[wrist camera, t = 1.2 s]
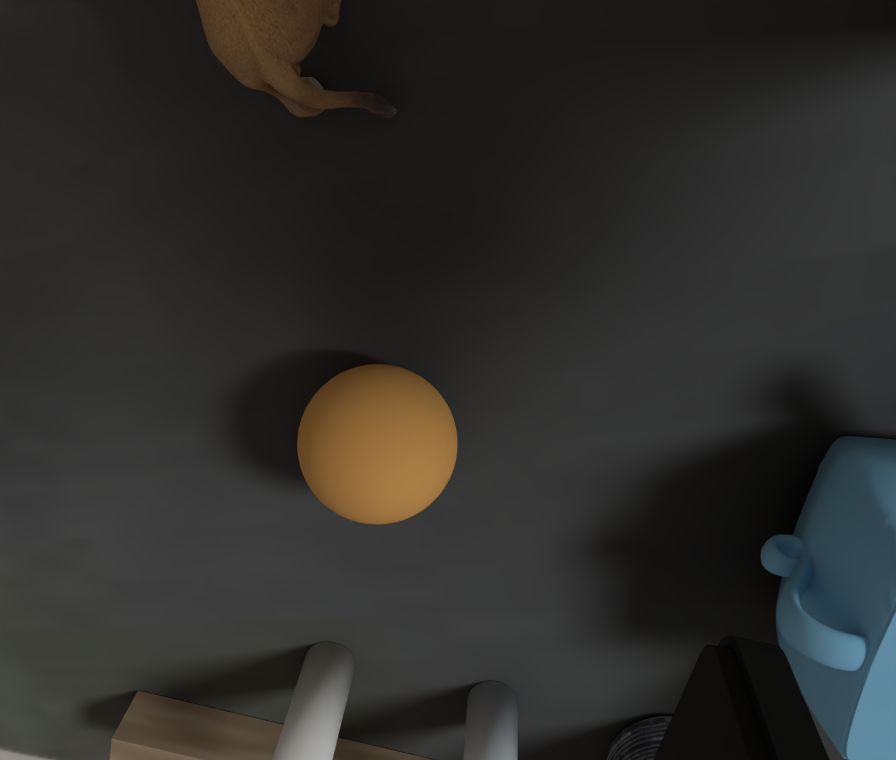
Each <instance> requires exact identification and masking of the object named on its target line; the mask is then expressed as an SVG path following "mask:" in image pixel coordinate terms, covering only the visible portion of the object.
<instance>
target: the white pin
mask: <svg viewBox="0 0 896 760" xmlns="http://www.w3.org/2000/svg"><path fill="white" fill-rule="evenodd" d="M354 669H355V659H354V657H353V655H352V653H351V652H350V651H349V650H348V649H347V648H345V647H344V646H342V645H340V644H337V643H333V642H322V643H318V644H315V645H314V646H312V647H311V648H310V649H309V650H308V652H307V654H306V657H305V660H304V663H303V666H302V669H301V672H300V676H299V679H298V682H297V685H296V688H295V691H294V694H293V697H292V700H291V704H290V707H289V710H288V713H287V716H286V719H285V722H284V725H283V728H282V731H281V735H280V738H279V741H278V744H277V747H276V750H275V753H274V756H273V759H272V760H332V759H333V755H334V751H335V747H336V743H337V738H338V734H339V730H340V726H341V722H342V718H343V714H344V710H345V706H346V702H347V697H348V693H349V689H350V685H351V681H352V677H353V673H354Z"/></svg>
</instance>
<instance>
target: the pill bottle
mask: <svg viewBox="0 0 896 760" xmlns="http://www.w3.org/2000/svg"><path fill="white" fill-rule="evenodd" d="M671 719H672V716H661V717H654V718H649V719H645V720H642V721H639V722H637V723H635V724H633V725H631V726H629V727H627V728H626V729H624V730H623V731H622V732H621V733H620V734H619V735H618V736H617V737H616V738H615V739H614V740H613V742H612V743H611V745H610V747H609V749H608V752H607V756H606V760H653V759H654V757H655V754H656V752H657V750H658V748H659V745H660V743H661V741H662V739H663V736H664V734H665V732H666V730H667V727H668V725H669V723H670V721H671Z"/></svg>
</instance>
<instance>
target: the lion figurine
mask: <svg viewBox="0 0 896 760" xmlns="http://www.w3.org/2000/svg"><path fill="white" fill-rule="evenodd" d="M196 3H197V6H198V9H199V13H200V17H201V20H202V24H203V28H204V31H205V35H206V38H207V41H208V44H209V46H210V48H211V50H212V52H213V53H214V55H215V56H216V57H217V58H218V59H219V60H220V62H221V63H222V64H223V65H224V66H225V67H226V68H227V70H228V71H229V72H230V73H231V74H232V75H233V76H234V77H235V78H236V79H237V80H238V81H239V82H240V83H242V84H243V85H245V86H247V87H249V88H251V89H255V90H261V91H264V92H266V93H269V94H271V95H273V96H275V97H277V98H278V99H279V100H280V101H281V102H282V103H283V104H284V105H285V106H286V107H287V109H288V110H289V112H291V113H292V114H294V115H295V116H297V117H313V116H316V115H318V114H320V113H322V112H323V111H324V110H325V109H335V108H346V107H353V108H364V109H367V110H369V111H370V112H371V113H374V114H378V115H380V116H382V117H387V118H390V117H393V116H394V115H395V114H396V111H397V110H396V109H395V108H394V107H393V106H392V105H391V104H389V102H388V101H387V100H386V99H384V98H383V97H381V96H379V95H377V94H374V93H367V92H358V91H352V92H337V91H330V90H324V89H323V87H322V86H321V84H320V83H319V82H318V81H317V80H316V79H315V78H313V77H300V71H301V70H300V66H299V62H301V61H302V60H303V59H304V58H305V57H306V56H307V55H308V54H309V53H310V51H311V50H312V48H313V47H314V45H315V43H316V40H317V38H318V36H319V33H320V30H321V27H322V25H323V24H325V25H326V26H328V27H332V26H335V25H336V24H337V22H338V19H339V11H340V4H341V0H196Z"/></svg>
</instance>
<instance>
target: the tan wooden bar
mask: <svg viewBox="0 0 896 760" xmlns="http://www.w3.org/2000/svg"><path fill="white" fill-rule="evenodd" d="M282 728H283V724H278V723H274V722H270V721H266V720H261V719H257V718H253V717H249V716H244V715H240V714H236V713H231V712H227V711H223V710H219V709H214V708H210V707H206V706H202V705H197V704H193V703H189V702H185V701H180V700H176V699H172V698H167V697H163V696H159V695H155V694H150V693H146V692H142V691H138V692H137V693H136V695H135V697H134V699H133V701H132V703H131V704H130V706H129V708H128V710H127V712H126V714H125V715H124V717H123V719H122V721H121V723H120V724H119V726H118V728H117V730H116V732H115V734H114V735H113V737H112V742H111V753H110V760H272V759H273V756H274V753H275V750H276V747H277V744H278V741H279V738H280V735H281V731H282ZM332 760H432V759H428V758H424V757H419V756H415V755H411V754H407V753H402V752H398V751H394V750H389V749H385V748H381V747H377V746H372V745H368V744H364V743H360V742H355V741H351V740H347V739H342V738H337V743H336V747H335V751H334V755H333V759H332Z"/></svg>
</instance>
